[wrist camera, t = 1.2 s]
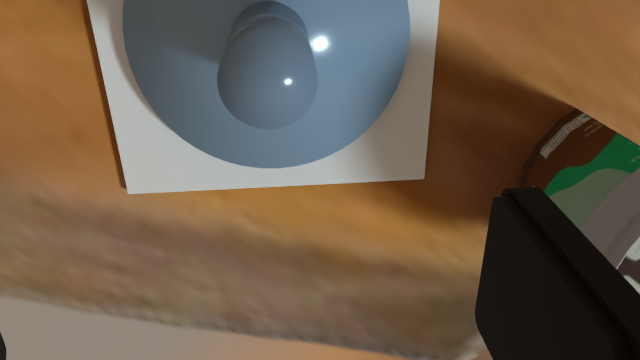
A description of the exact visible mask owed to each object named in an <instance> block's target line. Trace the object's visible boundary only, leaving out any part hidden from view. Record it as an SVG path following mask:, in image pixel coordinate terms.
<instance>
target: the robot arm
mask: <svg viewBox="0 0 640 360" xmlns="http://www.w3.org/2000/svg"><path fill="white" fill-rule="evenodd" d="M475 318H476V323H477V327H478V329H479V332H480V334H481V336H482V338H483V340H484V342H485V344H486V346H487V348H488V350H489V352H490V354H491V356H492V358H493V360H640V294H639V293H638V292H637V291H636V289H635V288H634V287H633V286H632V285H631V284H630V283H629V282H628V281H627V280H626V279H625V278H624V277H623V276H622V275H621V273H620V272H619V271H618V270H617V269H616V268H615V267H614V266H613V265H612V264H611V263H610V262H609V261H608V260H607V259H606V257H605V256H604V255H603V254H602V253H601V252H600V251H599V250H598V249H597V248H596V247H595V246H594V245H593V244H592V243H591V242H590V240H589V239H588V238H587V237H586V236H585V235H584V234H583V233H582V232H581V231H580V230H579V229H578V228H577V227H576V226H575V224H574V223H573V222H572V221H571V220H570V219H569V218H568V217H567V216H566V215H565V214H564V213H563V212H562V211H561V210H560V208H559V207H558V206H557V205H556V204H555V203H554V202H553V201H552V200H551V199H550V198H549V197H548V196H547V195H546V194H545V193H544V191H543V190H542V189H540V188H539V187H523V188H507V189H505V190H504V191H503V193H502V195H501V197H495V198H494V200H493V202H492V207H491V213H490V219H489V226H488V232H487V238H486V245H485V251H484V257H483V264H482V270H481V276H480V283H479V289H478V295H477V302H476V308H475ZM0 360H6V347H5V343H4V341H3V338H2V336H1V333H0Z"/></svg>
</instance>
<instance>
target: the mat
mask: <svg viewBox="0 0 640 360" xmlns="http://www.w3.org/2000/svg"><path fill="white" fill-rule="evenodd" d="M407 1H408V8H409V16H410V40H409V48H408V56H407V59H406V63H405V67H404V71H403V74H402V77H401V79H400V82H399V84H398V87H397V89H396V91H395V93H394V95H393V96H392V98H391V100H390V102H389V104H388V105H387V107H386V108H385V109H384V111H383V112H382V113H381V115H380V116H379V118H378V119H377V120H376V121H375V122H374V123H373V124H372V125H371V126H370V127H369V128H368V130H367V131H365V132H364V133H363V134H362V135H361V136H359V137H358V138H357V139H356V140H355V141H353V142H352V143H350V144H349V145H347V146H346V147H344V148H343V149H341V150H340V151H337V152H335V153H333V154H331V155H329V156H327V157H325V158H323V159H320V160H317V161H314V162H311V163H308V164H303V165H299V166H295V167H286V168H255V167H247V166H241V165H237V164H233V163H229V162H226V161H223V160H221V159H218V158H215V157H213V156H210V155H208V154H207V153H205V152H203V151H201V150H199V149H197V148H195V147H194V146H192V145H191V144H189V143H188V142H186V141H185V140H183V139H182V138H181V137H179V136H178V135H177V134H176V133H175V132H174V131H172V130H171V129H170V128H169V127H168V126H167V125H166V124H165V123H164V122H163V121H162V120H161V119H160V117H159V116H158V115H157V114H156V113H155V111H154V110H153V109H152V107H151V106H150V105H149V103H148V102H147V100H146V99H145V97H144V95H143V94H142V92H141V90H140V88H139V86H138V84H137V83H136V80H135V78H134V75H133V73H132V70H131V68H130V65H129V61H128V57H127V53H126V49H125V44H124V36H123V3H124V0H87V4H88V9H89V14H90V18H91V23H92V28H93V32H94V37H95V42H96V46H97V51H98V56H99V60H100V65H101V70H102V74H103V79H104V84H105V88H106V93H107V98H108V102H109V107H110V112H111V116H112V121H113V126H114V130H115V135H116V140H117V144H118V149H119V154H120V158H121V163H122V168H123V172H124V177H125V182H126V186H127V191H128V194H140V193H160V192H180V191H199V190H219V189H239V188H259V187H279V186H298V185H318V184H338V183H358V182H378V181H397V180H417V179H424V177H425V165H426V154H427V142H428V130H429V119H430V107H431V96H432V84H433V73H434V61H435V50H436V38H437V27H438V15H439V4H440V0H407Z"/></svg>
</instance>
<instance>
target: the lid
mask: <svg viewBox="0 0 640 360" xmlns="http://www.w3.org/2000/svg"><path fill="white" fill-rule="evenodd" d="M123 36H124V44H125V49H126V53H127V57H128V61H129V65H130V68H131V70H132V73H133V75H134V78H135V80H136V83H137V84H138V86H139V88H140V90H141V92H142V94H143V95H144V97H145V99H146V100H147V102H148V103H149V105H150V106H151V107H152V109H153V110H154V111H155V113H156V114H157V115H158V116H159V117H160V119H161V120H162V121H163V122H164V123H165V124H166V125H167V126H168V127H169V128H170V129H171V130H172V131H174V132H175V133H176V134H177V135H178V136H179V137H181V138H182V139H183V140H185V141H186V142H188V143H189V144H191V145H192V146H194V147H195V148H197V149H199V150H201V151H203V152H205V153H207V154H208V155H210V156H213V157H215V158H218V159H221V160H223V161H226V162H229V163H233V164H237V165H241V166H247V167H255V168H286V167H295V166H299V165H303V164H308V163H311V162H314V161H317V160H320V159H323V158H325V157H327V156H329V155H331V154H333V153H335V152H337V151H340V150H341V149H343V148H344V147H346V146H347V145H349V144H350V143H352V142H353V141H355V140H356V139H357V138H358V137H359V136H361V135H362V134H363V133H364V132H365V131H367V130H368V128H369V127H370V126H371V125H372V124H373V123H374V122H375V121H376V120H377V119H378V118H379V116H380V115H381V113H382V112H383V111H384V109H385V108H386V107H387V105H388V104H389V102H390V100H391V98H392V96H393V95H394V93H395V91H396V89H397V87H398V84H399V82H400V79H401V77H402V74H403V71H404V67H405V63H406V59H407V56H408V48H409V40H410V16H409V8H408V1H407V0H124V3H123Z"/></svg>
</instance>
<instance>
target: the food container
mask: <svg viewBox="0 0 640 360" xmlns="http://www.w3.org/2000/svg"><path fill="white" fill-rule="evenodd" d="M523 187H539V188H540V189H542V190H543V191H544V193H545V194H546V195H547V196H548V197H549V198H550V199H551V200H552V201H553V202H554V203H555V204H556V205H557V206H558V207H559V208H560V210H561V211H562V212H563V213H564V214H565V215H566V216H567V217H568V218H569V219H570V220H571V221H572V222H573V223H574V224H575V226H576V227H577V228H578V229H579V230H580V231H581V232H582V233H583V234H584V235H585V236H586V237H587V238H588V239H589V240H590V242H591V243H592V244H593V245H594V246H595V247H596V248H597V249H598V250H599V251H600V252H601V253H602V254H603V255H604V256H605V257H606V259H607V260H608V261H609V262H610V263H611V264H612V265H613V266H614V267H615V268H616V269H617V270H618V271H619V272H620V273H621V275H622V276H623V277H624V278H625V279H626V280H627V281H628V282H629V283H630V284H631V285H632V286H633V287H634V288H635V289H636V291H637V292H638V293H639V294H640V146H639V145H637V144H636V143H634V142H632V141H631V140H629V139H627V138H626V137H624V136H622V135H621V134H619V133H617V132H616V131H614V130H612V129H610V128H609V127H607V126H605V125H604V124H602V123H600V122H599V121H597V120H595V119H594V118H592V117H590V116H589V115H587V114H585V113H583V112H582V111H580V110H578V109H576V110H574V111H573V112H571V113H570V114H568V115H567V116H565V117H564V118H562V119H561V120H559V121H558V122H557V123H556V124H555V125H554V126H553V127H552V128H551V129H550V130H549V131H548V132H547V133H546V134H545V135H544V136H543V137H542V138H541V140H540V141H539V142H538V143H537V144H536V146H535V148H534V150H533V151H532V153H531V155H530V157H529V159H528V160H527V162H526V164H525V166H524V169H523V174H522V179H521V183H520V188H523Z"/></svg>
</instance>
